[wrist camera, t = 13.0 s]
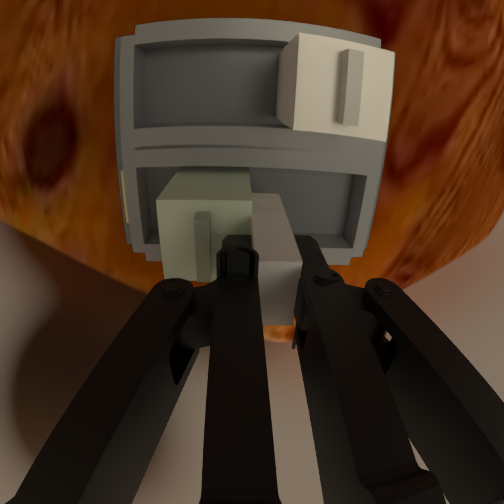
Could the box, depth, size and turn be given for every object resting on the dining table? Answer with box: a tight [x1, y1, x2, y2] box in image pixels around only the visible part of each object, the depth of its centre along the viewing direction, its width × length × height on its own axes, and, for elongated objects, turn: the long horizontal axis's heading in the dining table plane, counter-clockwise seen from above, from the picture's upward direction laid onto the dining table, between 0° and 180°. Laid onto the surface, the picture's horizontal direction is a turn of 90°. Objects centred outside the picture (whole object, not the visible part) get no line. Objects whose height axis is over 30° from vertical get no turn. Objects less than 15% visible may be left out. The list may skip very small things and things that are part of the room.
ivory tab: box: [276, 33, 395, 142], centre depth 12 cm, size 4×4×7 cm
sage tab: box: [156, 166, 252, 282], centre depth 15 cm, size 4×4×7 cm
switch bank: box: [114, 18, 395, 265], centre depth 16 cm, size 14×17×3 cm
